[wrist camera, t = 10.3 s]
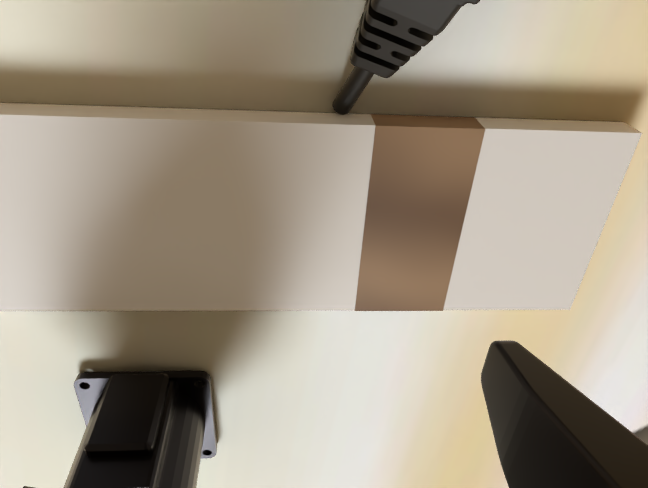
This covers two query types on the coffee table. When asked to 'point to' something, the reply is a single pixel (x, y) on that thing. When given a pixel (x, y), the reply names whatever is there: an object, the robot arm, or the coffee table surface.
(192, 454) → the robot arm
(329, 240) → the board
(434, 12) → the power plug
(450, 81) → the coffee table surface
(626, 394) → the coffee table surface
